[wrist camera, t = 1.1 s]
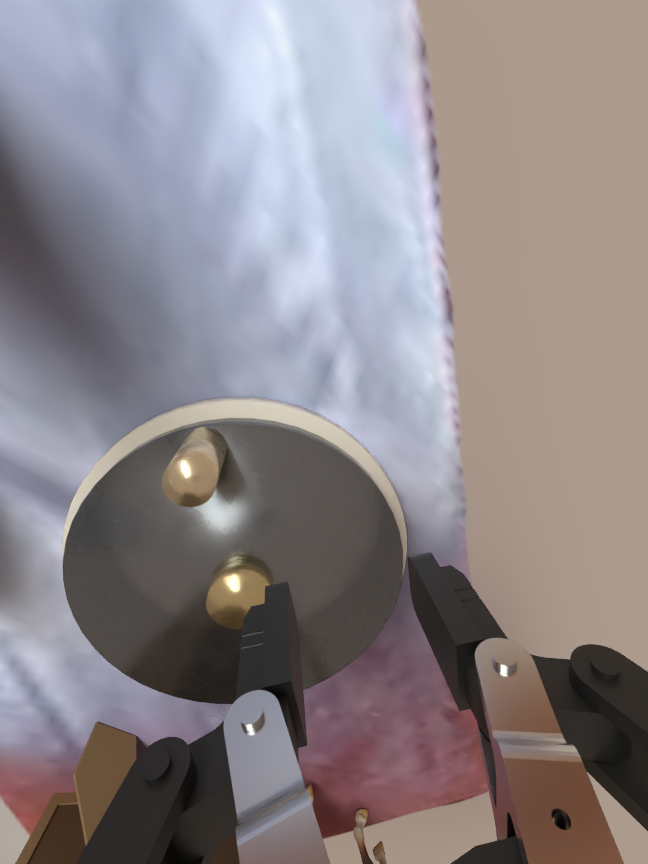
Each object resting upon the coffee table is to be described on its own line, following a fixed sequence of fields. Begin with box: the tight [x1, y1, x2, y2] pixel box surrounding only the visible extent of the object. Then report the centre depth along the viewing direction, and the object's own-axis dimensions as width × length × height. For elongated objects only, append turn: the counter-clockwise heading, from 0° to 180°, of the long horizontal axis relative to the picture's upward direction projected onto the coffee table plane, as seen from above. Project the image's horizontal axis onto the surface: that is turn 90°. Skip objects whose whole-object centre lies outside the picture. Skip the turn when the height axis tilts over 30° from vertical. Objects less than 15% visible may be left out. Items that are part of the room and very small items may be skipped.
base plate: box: [62, 397, 407, 576], centre depth 36 cm, size 29×29×2 cm
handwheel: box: [63, 418, 403, 704], centre depth 31 cm, size 27×27×8 cm
